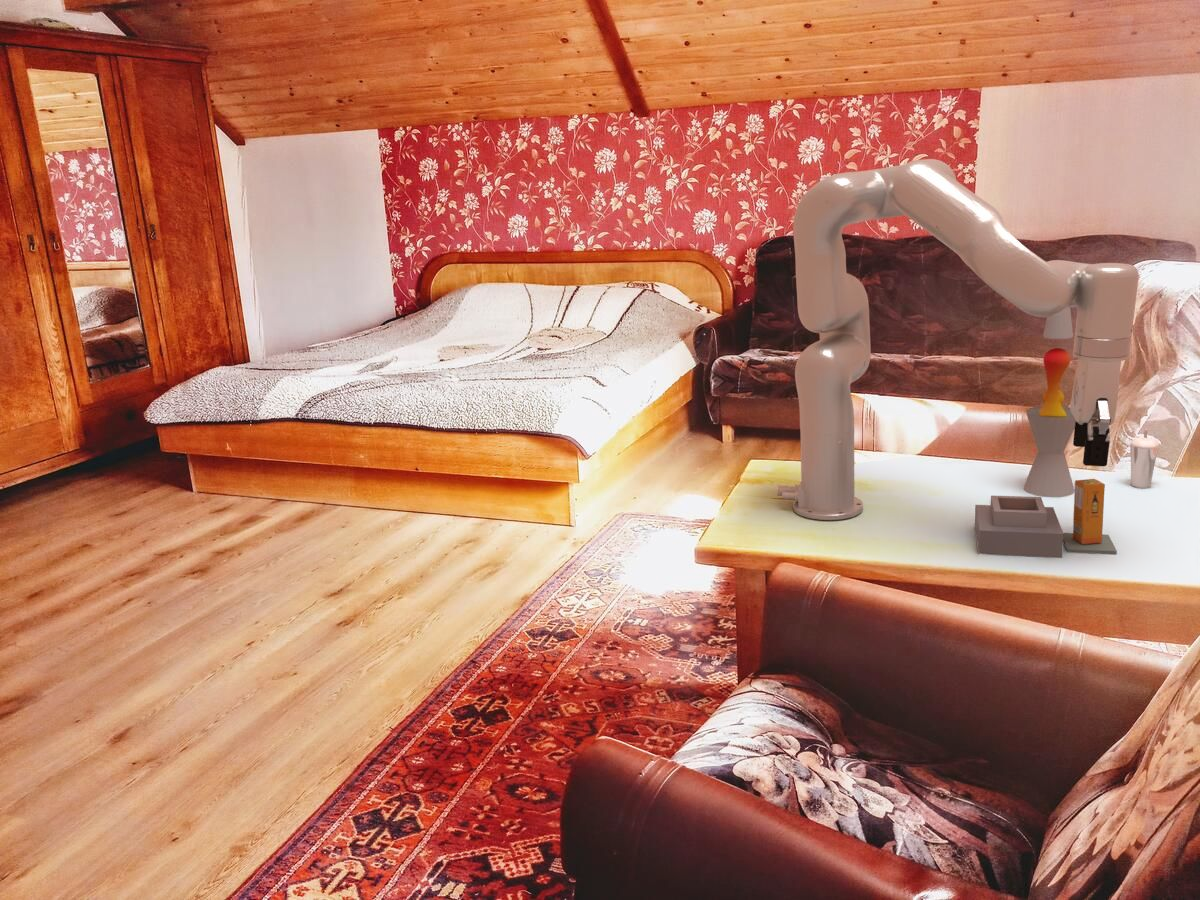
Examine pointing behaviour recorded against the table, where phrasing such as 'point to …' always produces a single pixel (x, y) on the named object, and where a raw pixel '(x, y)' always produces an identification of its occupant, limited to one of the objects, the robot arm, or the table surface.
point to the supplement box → (1088, 511)
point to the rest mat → (1089, 545)
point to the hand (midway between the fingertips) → (1089, 455)
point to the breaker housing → (1018, 528)
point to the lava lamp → (1052, 419)
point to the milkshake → (1143, 460)
